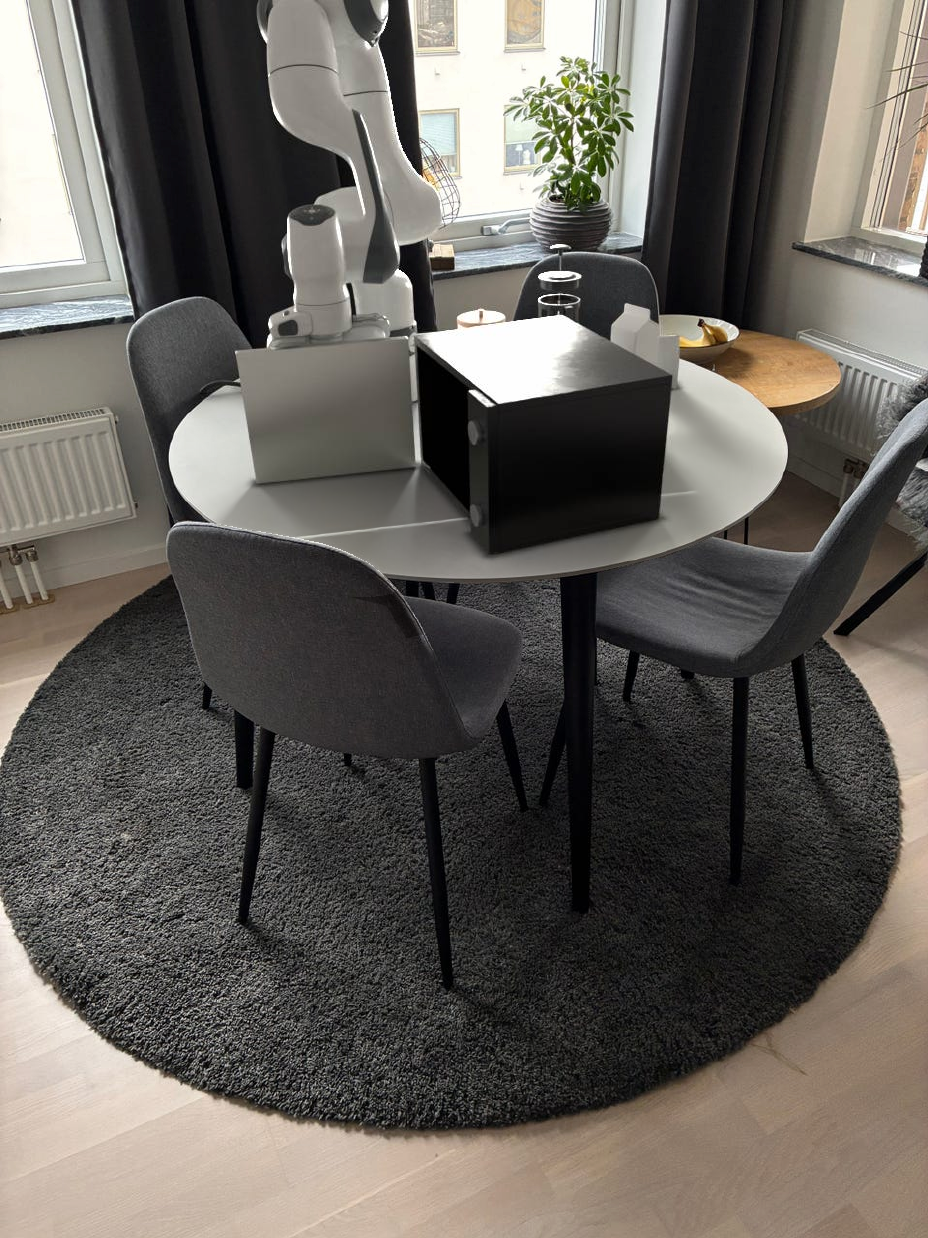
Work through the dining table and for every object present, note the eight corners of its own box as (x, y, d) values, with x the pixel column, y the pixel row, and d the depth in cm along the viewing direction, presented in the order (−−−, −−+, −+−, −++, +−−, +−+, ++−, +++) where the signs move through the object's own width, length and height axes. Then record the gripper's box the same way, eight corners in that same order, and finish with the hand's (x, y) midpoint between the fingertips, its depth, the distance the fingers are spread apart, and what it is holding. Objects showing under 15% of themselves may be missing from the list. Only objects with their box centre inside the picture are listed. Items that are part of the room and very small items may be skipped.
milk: (628, 438, 167) (637, 313, 154) (604, 429, 171) (611, 306, 158) (652, 430, 170) (663, 306, 157) (628, 420, 174) (636, 299, 161)
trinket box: (511, 346, 214) (511, 304, 209) (497, 360, 206) (496, 317, 200) (466, 343, 217) (465, 301, 212) (451, 357, 209) (449, 314, 203)
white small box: (676, 387, 188) (681, 338, 182) (642, 389, 188) (646, 339, 182) (672, 381, 191) (677, 332, 185) (639, 383, 191) (643, 333, 185)
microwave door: (256, 467, 160) (235, 340, 148) (409, 451, 164) (401, 326, 152) (256, 484, 154) (235, 353, 142) (415, 466, 158) (408, 338, 147)
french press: (529, 350, 211) (530, 242, 199) (568, 345, 213) (571, 238, 201) (548, 365, 202) (550, 253, 189) (588, 360, 204) (593, 249, 191)
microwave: (484, 556, 132) (481, 406, 120) (407, 467, 159) (399, 337, 147) (659, 518, 140) (672, 374, 128) (558, 439, 167) (562, 314, 155)
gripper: (386, 307, 153) (392, 389, 161) (260, 317, 151) (272, 400, 158) (391, 316, 148) (397, 401, 156) (260, 327, 145) (273, 413, 153)
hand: (333, 401), depth 157 cm, fingers closed
